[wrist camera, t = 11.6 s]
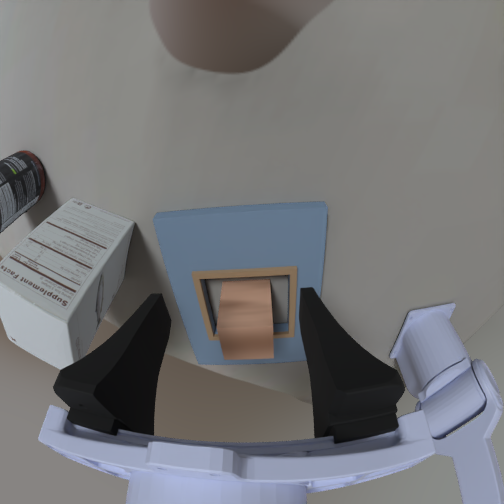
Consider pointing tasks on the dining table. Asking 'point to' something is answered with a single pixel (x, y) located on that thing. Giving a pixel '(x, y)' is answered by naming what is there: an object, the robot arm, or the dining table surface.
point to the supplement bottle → (19, 186)
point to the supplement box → (63, 281)
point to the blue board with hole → (242, 264)
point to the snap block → (246, 320)
